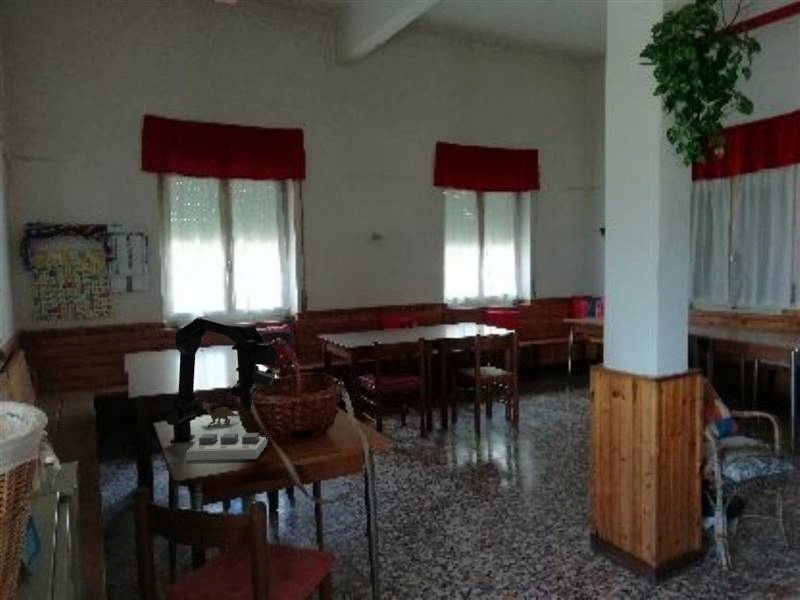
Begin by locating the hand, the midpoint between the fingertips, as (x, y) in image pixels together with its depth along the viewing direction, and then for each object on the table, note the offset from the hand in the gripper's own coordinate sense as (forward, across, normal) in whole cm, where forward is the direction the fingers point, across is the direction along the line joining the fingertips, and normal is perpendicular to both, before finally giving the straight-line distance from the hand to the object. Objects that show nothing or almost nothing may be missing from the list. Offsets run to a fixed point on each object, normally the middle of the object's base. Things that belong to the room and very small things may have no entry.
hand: (249, 411), depth 197 cm
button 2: (+10, 0, 0) cm, 10 cm away
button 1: (+10, 0, +14) cm, 17 cm away
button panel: (+13, -2, +7) cm, 15 cm away
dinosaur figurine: (+13, +32, +21) cm, 41 cm away
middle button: (+10, 0, +7) cm, 13 cm away
